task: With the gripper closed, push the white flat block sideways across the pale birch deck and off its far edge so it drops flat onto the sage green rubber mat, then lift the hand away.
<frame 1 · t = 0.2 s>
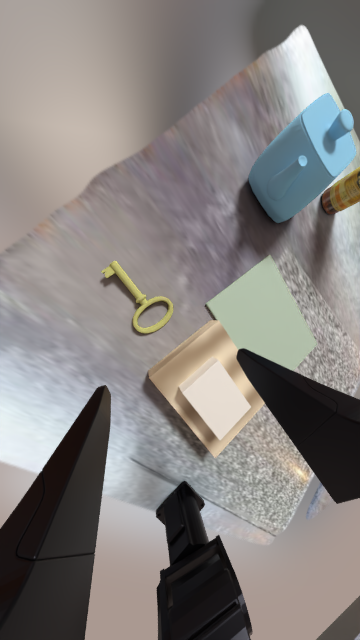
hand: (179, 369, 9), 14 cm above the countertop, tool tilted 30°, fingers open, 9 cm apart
white flat block: (212, 393, 22), point 3 cm above the countertop, touching deck
mat: (267, 326, 29), on the countertop
key: (140, 300, 23), on the countertop
deck: (208, 381, 26), on the countertop
sauce bottle: (327, 204, 34), on the countertop
teapot: (266, 198, 29), on the countertop
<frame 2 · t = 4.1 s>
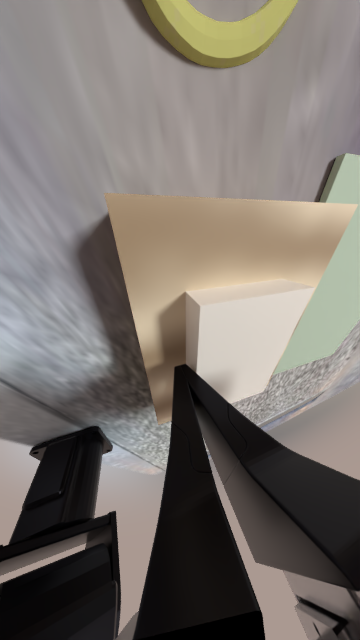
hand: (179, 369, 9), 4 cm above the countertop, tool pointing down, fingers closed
white flat block: (226, 345, 11), point 3 cm above the countertop, touching deck, gripper
mat: (331, 301, 18), on the countertop
deck: (213, 325, 14), on the countertop
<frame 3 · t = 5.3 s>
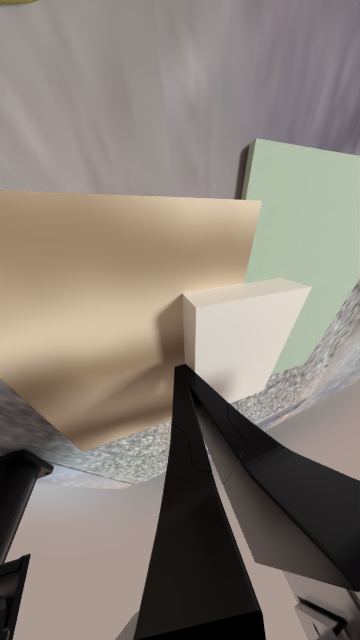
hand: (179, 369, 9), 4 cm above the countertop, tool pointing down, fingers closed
white flat block: (225, 345, 11), point 3 cm above the countertop, touching deck, gripper
mat: (289, 309, 16), on the countertop
deck: (141, 339, 12), on the countertop
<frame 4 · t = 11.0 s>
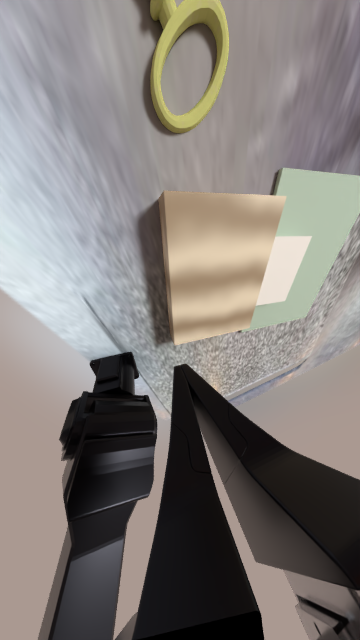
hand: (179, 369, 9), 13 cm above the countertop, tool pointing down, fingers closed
white flat block: (269, 271, 23), resting on mat
mat: (295, 267, 25), on the countertop
key: (158, 21, 10), on the countertop
deck: (210, 277, 21), on the countertop
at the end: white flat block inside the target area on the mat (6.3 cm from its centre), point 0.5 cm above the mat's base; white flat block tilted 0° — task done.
